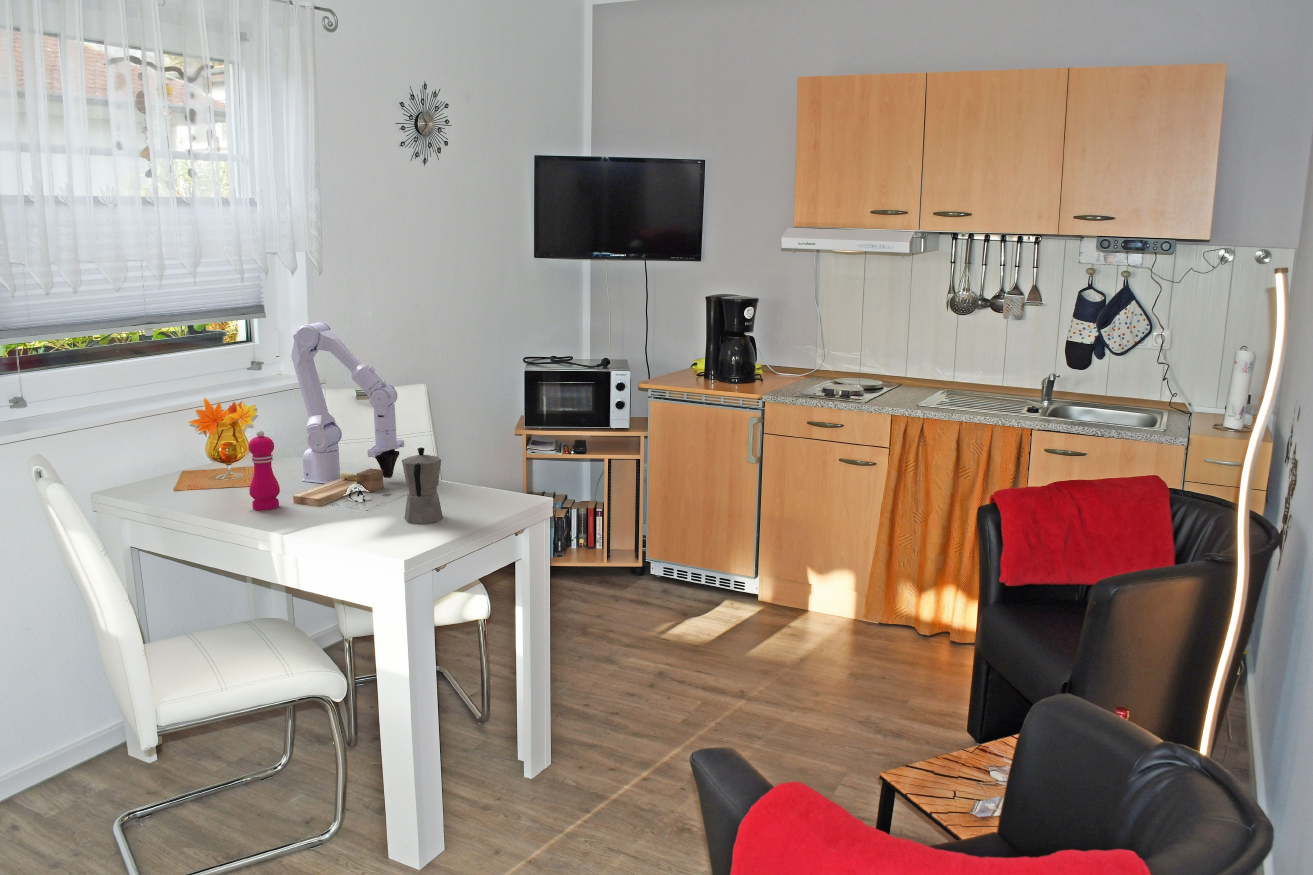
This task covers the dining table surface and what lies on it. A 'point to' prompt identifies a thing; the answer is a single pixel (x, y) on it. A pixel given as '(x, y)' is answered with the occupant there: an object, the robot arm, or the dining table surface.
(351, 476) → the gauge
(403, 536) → the dining table surface
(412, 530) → the dining table surface
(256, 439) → the pepper mill
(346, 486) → the board
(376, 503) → the dining table surface
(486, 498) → the dining table surface
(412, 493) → the coffeepot
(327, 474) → the robot arm
